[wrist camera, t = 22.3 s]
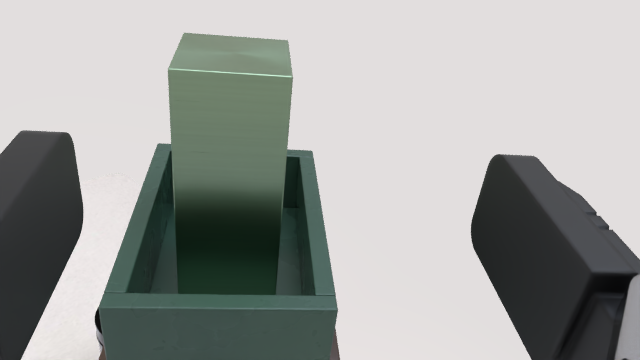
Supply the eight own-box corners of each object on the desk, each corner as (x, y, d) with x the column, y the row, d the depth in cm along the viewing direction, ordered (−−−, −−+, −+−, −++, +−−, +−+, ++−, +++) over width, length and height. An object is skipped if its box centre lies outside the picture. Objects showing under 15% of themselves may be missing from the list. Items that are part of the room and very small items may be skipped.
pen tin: (273, 243, 29) (288, 40, 23) (275, 302, 25) (293, 76, 19) (189, 241, 28) (183, 32, 23) (178, 300, 25) (167, 68, 19)
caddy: (306, 208, 33) (312, 150, 31) (326, 381, 22) (338, 310, 20) (161, 203, 32) (157, 142, 30) (109, 382, 21) (97, 307, 19)
